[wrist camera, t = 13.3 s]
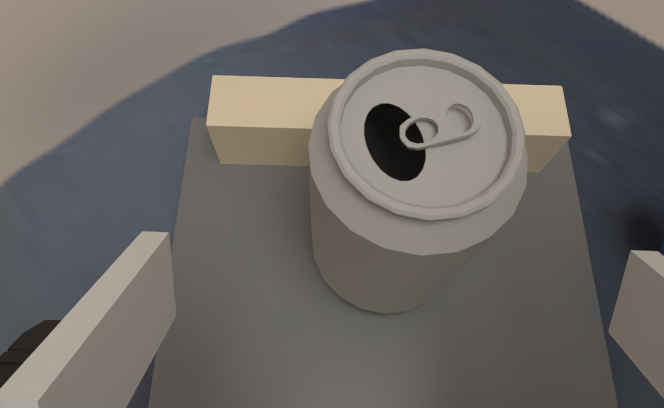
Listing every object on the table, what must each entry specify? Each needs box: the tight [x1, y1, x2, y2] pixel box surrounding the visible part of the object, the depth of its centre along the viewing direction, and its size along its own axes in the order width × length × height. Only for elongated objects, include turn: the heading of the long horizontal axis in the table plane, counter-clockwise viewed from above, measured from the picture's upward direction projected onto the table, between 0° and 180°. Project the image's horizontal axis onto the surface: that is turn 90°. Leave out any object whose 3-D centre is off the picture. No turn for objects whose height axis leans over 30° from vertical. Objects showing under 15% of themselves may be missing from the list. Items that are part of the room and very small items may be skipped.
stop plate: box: [148, 75, 618, 408], centre depth 24 cm, size 22×22×5 cm
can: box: [308, 48, 528, 314], centre depth 21 cm, size 8×8×12 cm
